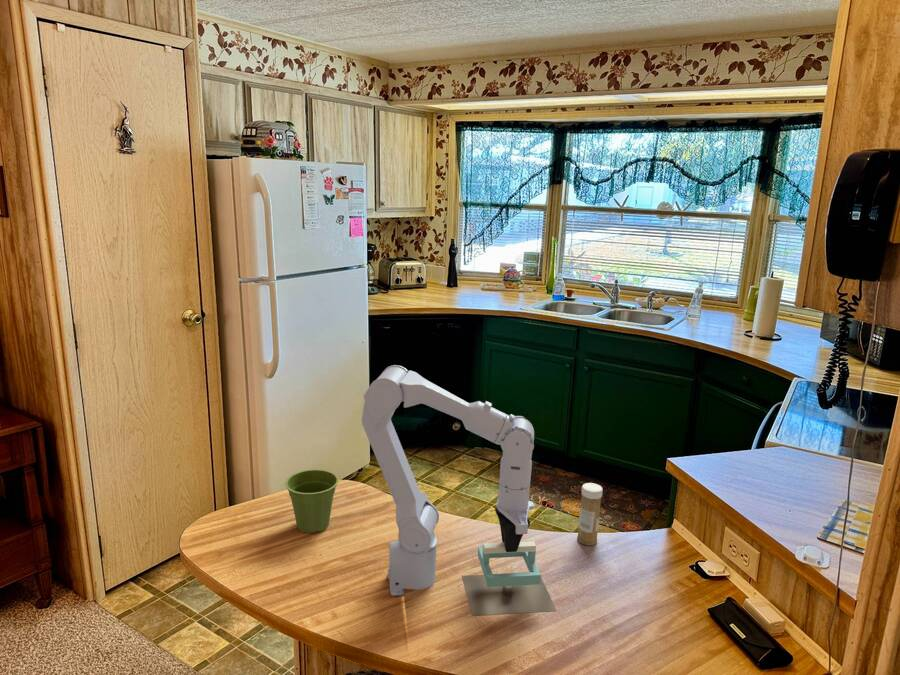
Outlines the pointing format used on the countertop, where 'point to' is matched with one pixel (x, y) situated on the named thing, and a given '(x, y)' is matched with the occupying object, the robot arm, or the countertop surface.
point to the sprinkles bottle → (589, 513)
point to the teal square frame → (498, 551)
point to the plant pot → (312, 498)
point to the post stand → (505, 597)
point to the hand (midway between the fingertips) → (509, 547)
